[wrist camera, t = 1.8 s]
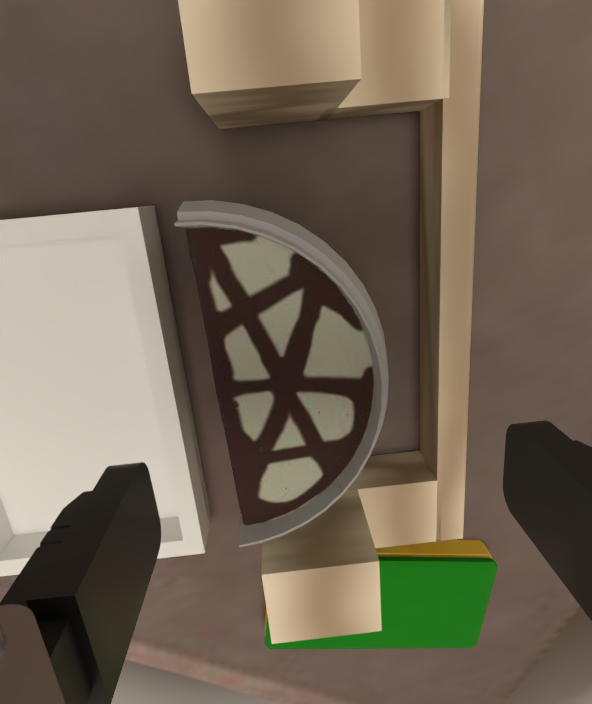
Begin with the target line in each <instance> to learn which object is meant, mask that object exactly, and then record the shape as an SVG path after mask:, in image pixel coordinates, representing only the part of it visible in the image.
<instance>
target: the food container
mask: <svg viewBox="0 0 592 704" xmlns="http://www.w3.org/2000/svg"><path fill="white" fill-rule="evenodd" d="M177 216H178V221H176V222H175V223H174V224H175V226H178V227H182V228H186V231H187V238H188V242H189V254H190V257H191V260H192V263H193V266H194V271H195V275H196V280H197V285H198V291H199V296H200V302H201V307H202V313H203V318H204V324H205V329H206V334H207V340H208V345H209V351H210V357H211V363H212V369H213V375H214V380H215V386H216V392H217V398H218V403H219V407H220V412H221V416H222V421H223V425H224V430H225V434H226V439H227V444H228V449H229V454H230V459H231V465H232V470H233V475H234V480H235V485H236V490H237V495H238V500H239V505H240V510H241V515H240V535H239V547H243V546H248V545H253V544H258V543H262V542H265V541H268V540H271V539H274V538H277V537H280V536H283V535H285V534H287V533H289V532H291V531H293V530H295V529H297V528H299V527H301V526H303V525H305V524H307V523H309V522H310V521H311V520H313V519H314V518H316V517H317V516H319V515H320V514H322V513H323V512H324V511H326V510H327V509H328V508H329V507H330V506H331V505H333V504H334V503H335V502H336V501H337V500H338V499H339V498H340V497H341V496H342V495H343V494H344V493H345V492H346V491H347V489H348V488H349V487H350V486H351V484H352V483H353V482H354V481H355V479H356V478H357V477H358V476H359V474H360V472H361V471H362V469H363V467H364V465H365V464H366V462H367V460H368V458H369V457H370V455H371V453H372V450H373V448H374V446H375V444H376V441H377V438H378V436H379V433H380V430H381V428H382V425H383V421H384V416H385V411H386V406H387V401H388V378H389V373H388V362H387V353H386V346H385V340H384V333H383V330H382V327H381V324H380V321H379V318H378V314H377V311H376V308H375V306H374V304H373V302H372V301H371V299H370V297H369V295H368V293H367V291H366V289H365V287H364V285H363V284H362V282H361V281H360V280H359V278H358V277H357V276H356V274H355V273H354V272H353V270H352V269H351V268H350V266H349V265H348V264H347V262H346V261H345V260H344V259H343V258H341V257H340V256H339V255H338V254H337V253H336V252H335V251H334V250H333V249H332V248H331V247H330V246H329V245H328V244H327V243H326V242H324V241H323V240H321V239H320V238H319V237H317V236H316V235H314V234H313V233H311V232H310V231H308V230H307V229H305V228H304V227H302V226H301V225H299V224H297V223H295V222H292V221H290V220H288V219H286V218H284V217H282V216H280V215H277V214H275V213H273V212H270V211H266V210H263V209H259V208H256V207H252V206H249V205H245V204H240V203H231V202H223V201H214V200H204V201H183V203H182V204H181V206H180V208H179V209H178V211H177Z"/></svg>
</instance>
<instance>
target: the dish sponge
mask: <svg viewBox="0 0 592 704" xmlns="http://www.w3.org/2000/svg"><path fill="white" fill-rule="evenodd" d="M375 549H376V552H377V556H378V559H379V570H380V597H381V625H382V631H377V632H369V633H360V634H352V635H343V636H335V637H327V638H318V639H310V640H301V641H293V642H285V643H276V644H272V642H271V636H270V629H269V622H268V615H267V608H266V616H265V636H266V637H265V645H266V646H267V647H268V648H270V649H374V648H472V647H473V646H475V645H476V644H477V641H478V638H479V634H480V630H481V627H482V623H483V619H484V616H485V612H486V608H487V605H488V601H489V597H490V593H491V590H492V586H493V582H494V579H495V575H496V571H497V568H498V566H497V564H496V563H495V562H494V561H493V558H492V556H491V555H490V553H489V551H488V550H487V548H486V547H485V545H484V544H483V543H482V542H481V541H480V540H444V541H435V542H426V543H418V544H409V545H400V546H391V547H383V548H375Z"/></svg>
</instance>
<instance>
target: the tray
mask: <svg viewBox="0 0 592 704" xmlns="http://www.w3.org/2000/svg"><path fill="white" fill-rule="evenodd" d="M140 462H144V463H145V464H146V465H147V467H148V470H149V473H150V478H151V482H152V486H153V491H154V495H155V500H156V504H157V508H158V513H159V517H160V523H161V544H160V550H159V553H158V556H157V559H158V558H167V557H175V556H184V555H193V554H202V553H205V550H206V544H207V538H208V532H209V527H210V521H211V512H210V507H209V501H208V496H207V490H206V485H205V479H204V474H203V468H202V463H201V457H200V452H199V446H198V441H197V435H196V430H195V424H194V419H193V414H192V408H191V403H190V397H189V392H188V386H187V381H186V375H185V370H184V364H183V359H182V353H181V348H180V342H179V337H178V331H177V326H176V320H175V315H174V309H173V304H172V298H171V293H170V287H169V282H168V276H167V271H166V265H165V260H164V254H163V249H162V243H161V238H160V233H159V227H158V222H157V216H156V211H155V205H153V206H142V207H132V208H121V209H110V210H100V211H89V212H79V213H68V214H58V215H47V216H36V217H26V218H15V219H5V220H0V576H8V575H17V574H20V572H21V571H22V569H23V568H24V566H25V565H26V563H27V562H28V560H29V559H30V557H31V556H32V554H33V553H34V551H35V550H36V548H37V547H40V542H41V541H42V539H43V538H44V536H45V535H46V533H47V532H48V531H50V530H51V526H52V524H53V523H54V521H55V520H56V518H57V517H58V515H59V514H60V512H61V511H62V509H63V508H64V507H66V506H67V505H68V504H69V503H70V502H72V501H73V500H74V499H75V498H76V497H78V496H79V495H80V494H81V493H83V492H86V491H92V490H93V489H94V487H95V485H96V484H97V482H98V481H99V479H100V477H101V476H102V474H103V472H104V471H105V469H106V468H107V467H108V466H112V465H121V464H131V463H140Z"/></svg>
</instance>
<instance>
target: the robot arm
mask: <svg viewBox="0 0 592 704" xmlns="http://www.w3.org/2000/svg"><path fill="white" fill-rule="evenodd" d="M503 492H504V497H505V500H506V503H507V506H508V508H509V510H510V512H511V514H512V515H513V516H514V518H515V519H516V520H517V522H518V523H519V524H520V526H521V527H522V528H523V530H524V531H525V533H526V534H527V535H528V537H529V538H530V539H531V541H532V542H533V543H534V545H535V546H536V547H537V549H538V550H539V551H540V553H541V554H542V555H543V557H544V558H545V559H546V561H547V562H548V563H549V565H550V566H551V567H552V569H553V570H554V571H555V573H556V574H557V575H558V577H559V578H560V579H561V581H562V582H563V583H564V585H565V586H566V587H567V589H568V590H569V591H570V593H571V594H572V595H573V597H574V598H575V599H576V601H577V602H578V603H579V605H580V606H581V607H582V609H583V610H584V611H585V613H586V614H587V615H588V617H589V618H590V619H591V621H592V447H590V446H588V445H585V444H583V443H581V442H579V441H577V440H576V441H572V440H571V439H570V438H569V437H568V436H566V435H565V434H564V433H563V432H561V431H560V430H559V429H558V428H557V427H555V426H554V425H553V424H552V423H550V422H548V421H537V422H528V423H518V424H511V425H510V426H509V427H508V429H507V433H506V445H505V460H504V475H503ZM160 544H161V523H160V517H159V513H158V508H157V504H156V500H155V495H154V491H153V486H152V482H151V478H150V473H149V470H148V467H147V465H146V464H145V463H144V462H140V463H131V464H121V465H112V466H108V467H107V468H106V469H105V471H104V472H103V474H102V476H101V477H100V479H99V481H98V482H97V484H96V485H95V487H94V489H93V490H92V491H86V492H83V493H81V494H80V495H79V496H78V497H76V498H75V499H74V500H73V501H72V502H70V503H69V504H68V505H67V506H66V507H64V508H63V509H62V511H61V512H60V514H59V515H58V517H57V518H56V520H55V521H54V523H53V524H52V526H51V530H50V531H48V532H47V533H46V535H45V536H44V538H43V539H42V541H41V542H40V547H37V548H36V550H35V551H34V553H33V554H32V556H31V557H30V559H29V560H28V562H27V563H26V565H25V566H24V568H23V569H22V571H21V572H20V574H19V575H18V577H17V578H16V580H15V581H14V583H13V585H12V586H11V588H10V589H9V591H8V592H7V594H6V595H5V597H4V598H3V600H2V601H1V603H0V704H111V701H112V698H113V695H114V692H115V689H116V685H117V682H118V679H119V676H120V673H121V670H122V667H123V663H124V660H125V657H126V654H127V651H128V648H129V645H130V641H131V638H132V635H133V632H134V629H135V626H136V622H137V619H138V616H139V613H140V610H141V607H142V604H143V600H144V597H145V594H146V591H147V588H148V585H149V582H150V578H151V575H152V572H153V569H154V566H155V563H156V559H157V556H158V553H159V550H160Z"/></svg>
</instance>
